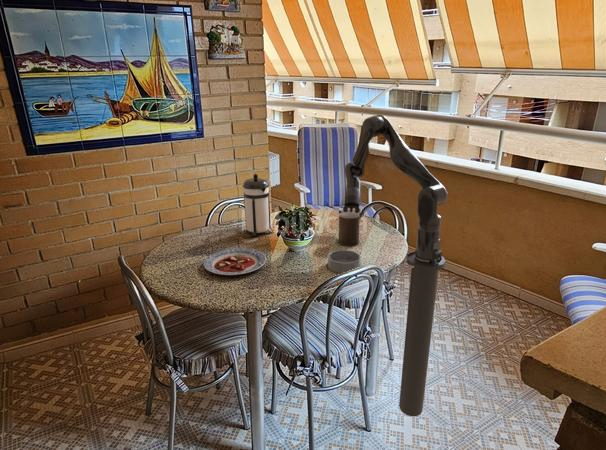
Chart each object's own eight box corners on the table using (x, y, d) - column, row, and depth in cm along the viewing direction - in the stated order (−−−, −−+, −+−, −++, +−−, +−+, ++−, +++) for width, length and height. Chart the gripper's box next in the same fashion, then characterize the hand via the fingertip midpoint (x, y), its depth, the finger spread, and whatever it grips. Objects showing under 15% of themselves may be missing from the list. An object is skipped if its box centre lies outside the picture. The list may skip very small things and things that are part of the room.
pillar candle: (354, 247, 187) (355, 216, 182) (334, 243, 192) (335, 213, 186) (362, 240, 195) (363, 210, 190) (343, 237, 200) (344, 207, 194)
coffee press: (277, 227, 213) (275, 170, 203) (267, 238, 199) (265, 178, 188) (246, 225, 217) (242, 169, 207) (234, 235, 202) (230, 176, 192)
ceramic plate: (248, 283, 155) (248, 276, 154) (191, 273, 164) (190, 267, 163) (276, 257, 178) (276, 251, 177) (224, 249, 186) (224, 243, 185)
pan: (366, 266, 168) (367, 256, 167) (345, 276, 160) (345, 266, 159) (342, 256, 178) (343, 247, 176) (321, 266, 169) (321, 256, 168)
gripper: (338, 193, 202) (335, 225, 195) (365, 194, 200) (363, 226, 193) (339, 201, 209) (336, 231, 202) (365, 202, 207) (363, 233, 200)
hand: (349, 229), depth 198 cm, fingers closed
